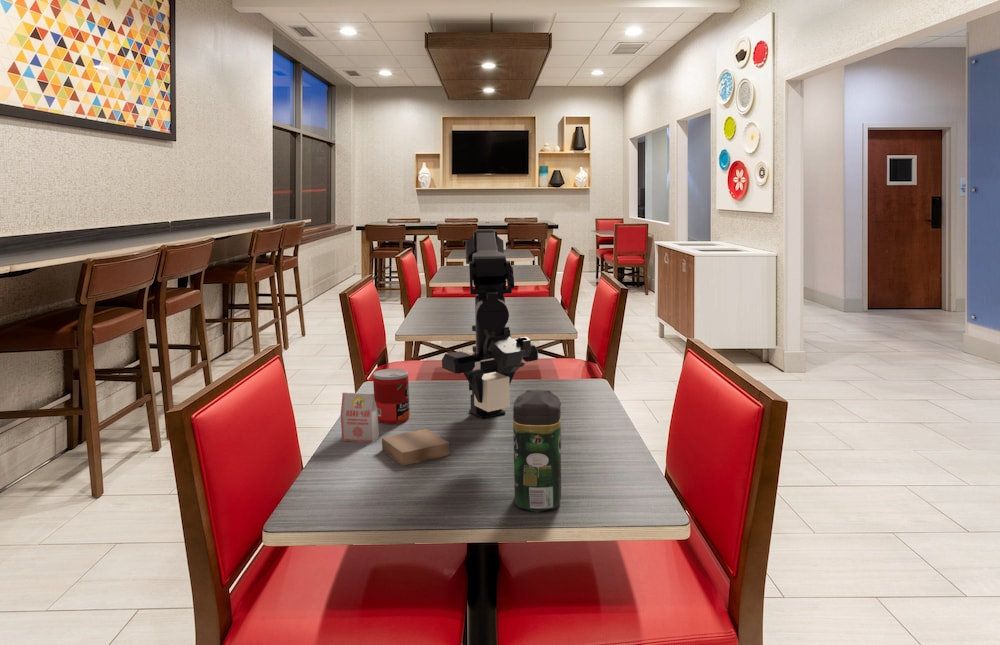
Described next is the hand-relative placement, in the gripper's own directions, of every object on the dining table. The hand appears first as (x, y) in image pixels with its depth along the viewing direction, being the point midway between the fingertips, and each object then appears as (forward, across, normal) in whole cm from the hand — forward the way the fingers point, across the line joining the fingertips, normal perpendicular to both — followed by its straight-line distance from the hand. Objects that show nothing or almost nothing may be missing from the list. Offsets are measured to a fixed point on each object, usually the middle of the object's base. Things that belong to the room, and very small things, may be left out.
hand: (491, 400), depth 137 cm
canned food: (+11, -7, +32) cm, 35 cm away
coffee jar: (+12, -5, -22) cm, 25 cm away
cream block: (+1, 0, 0) cm, 1 cm away
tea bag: (+12, -18, +24) cm, 32 cm away
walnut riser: (+12, -12, +10) cm, 20 cm away
